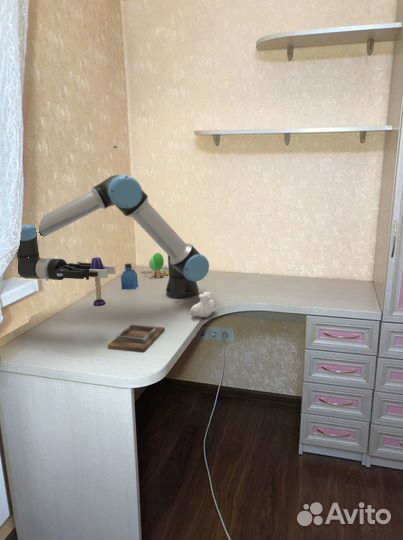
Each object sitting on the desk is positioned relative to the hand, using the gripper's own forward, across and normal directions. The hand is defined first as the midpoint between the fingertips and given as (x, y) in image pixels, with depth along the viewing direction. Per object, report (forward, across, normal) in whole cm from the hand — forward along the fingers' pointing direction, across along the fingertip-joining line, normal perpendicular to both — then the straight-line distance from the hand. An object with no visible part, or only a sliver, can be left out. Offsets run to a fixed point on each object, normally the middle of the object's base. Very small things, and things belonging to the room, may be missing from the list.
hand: (110, 272), depth 138 cm
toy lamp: (-5, 0, -12) cm, 13 cm away
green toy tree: (-18, -78, -24) cm, 84 cm away
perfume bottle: (-23, -55, -24) cm, 64 cm away
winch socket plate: (+8, 0, -24) cm, 25 cm away
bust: (+24, -26, -24) cm, 43 cm away
